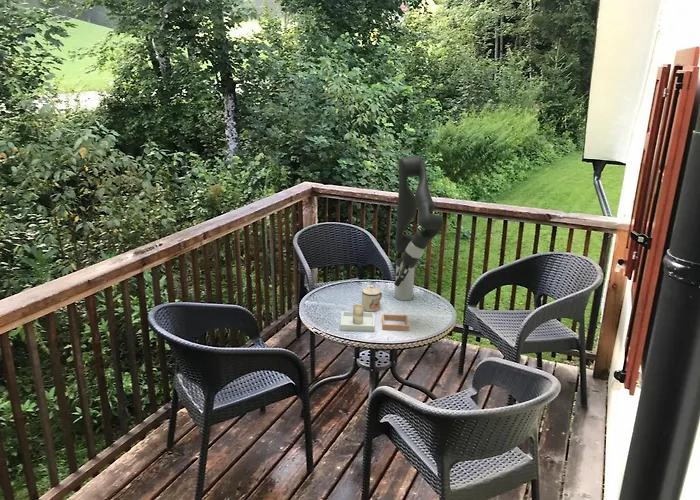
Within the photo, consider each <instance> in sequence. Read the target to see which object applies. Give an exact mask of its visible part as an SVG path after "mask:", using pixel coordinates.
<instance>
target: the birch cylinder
mask: <svg viewBox="0 0 700 500" xmlns="http://www.w3.org/2000/svg"><path fill="white" fill-rule="evenodd" d="M352 307H353V309H352V312H353V323H354V324H358V325H359V324H362V323H363V312H364V310H363V309H364V306H363V305H362V303H355V304H354V305H352Z"/></svg>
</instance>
